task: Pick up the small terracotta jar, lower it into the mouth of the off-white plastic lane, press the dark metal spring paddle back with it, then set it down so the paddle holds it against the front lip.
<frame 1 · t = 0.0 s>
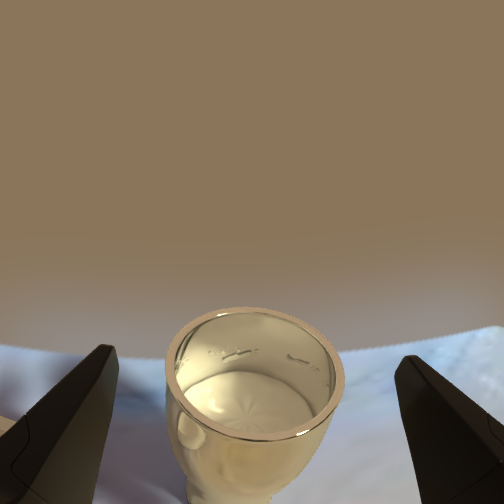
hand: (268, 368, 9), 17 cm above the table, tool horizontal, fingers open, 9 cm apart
beer glass: (228, 492, 18), on the table
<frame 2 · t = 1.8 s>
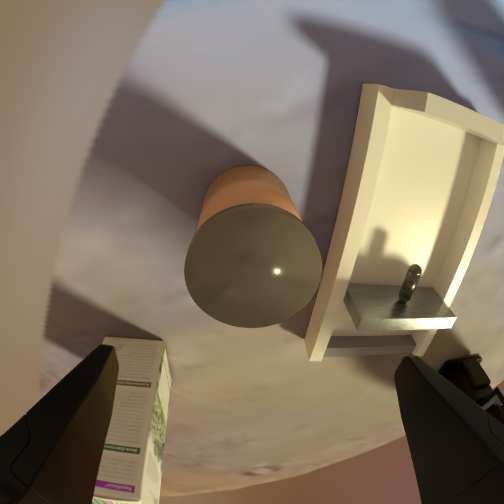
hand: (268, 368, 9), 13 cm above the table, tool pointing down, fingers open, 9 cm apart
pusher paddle: (405, 295, 21), point 3 cm above the table, slide at 0.0 cm
terracotta jar: (247, 207, 21), on the table
syrup box: (140, 358, 27), on the table
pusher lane: (401, 238, 22), on the table
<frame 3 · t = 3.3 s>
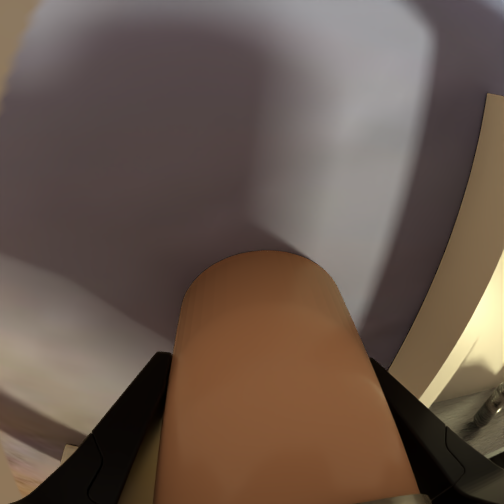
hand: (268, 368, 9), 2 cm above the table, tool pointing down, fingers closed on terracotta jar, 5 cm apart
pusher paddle: (482, 417, 11), point 3 cm above the table, slide at 0.0 cm
terracotta jar: (262, 322, 11), on the table, touching gripper
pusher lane: (486, 336, 12), on the table
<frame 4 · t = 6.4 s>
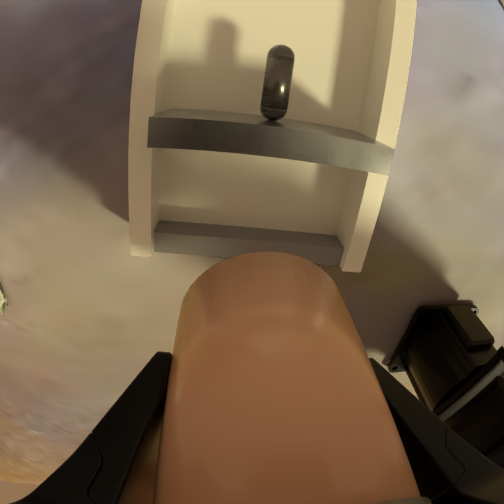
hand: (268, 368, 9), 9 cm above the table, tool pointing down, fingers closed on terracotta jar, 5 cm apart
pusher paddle: (273, 107, 11), point 3 cm above the table, slide at 0.0 cm
terracotta jar: (262, 323, 11), point 7 cm above the table, touching gripper
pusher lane: (274, 42, 12), on the table
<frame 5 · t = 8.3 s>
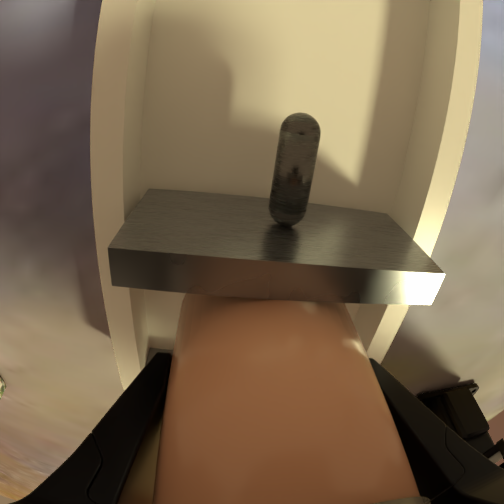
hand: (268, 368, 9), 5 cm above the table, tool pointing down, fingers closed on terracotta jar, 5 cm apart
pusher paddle: (287, 207, 8), point 3 cm above the table, slide at 2.1 cm, touching terracotta jar
terracotta jar: (262, 323, 11), point 3 cm above the table, touching gripper, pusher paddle
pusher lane: (277, 151, 11), on the table
when the fingers open (3 cm above the table, at t = 9.6 s): terracotta jar moves 1 cm, resting on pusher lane, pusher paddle.
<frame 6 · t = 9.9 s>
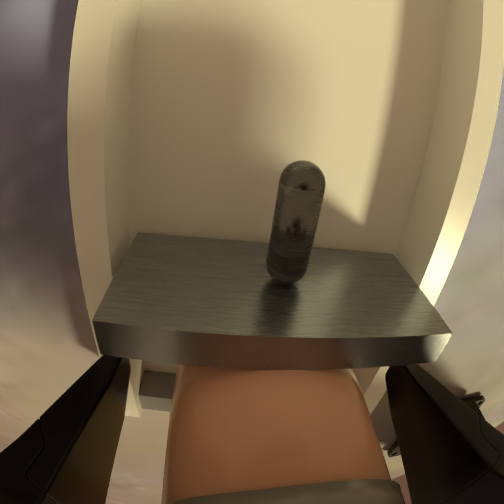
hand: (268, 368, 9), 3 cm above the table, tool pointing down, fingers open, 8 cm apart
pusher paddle: (287, 263, 8), point 3 cm above the table, slide at 1.3 cm, touching terracotta jar
terracotta jar: (258, 328, 12), point 1 cm above the table, touching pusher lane, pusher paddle
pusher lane: (281, 162, 10), on the table
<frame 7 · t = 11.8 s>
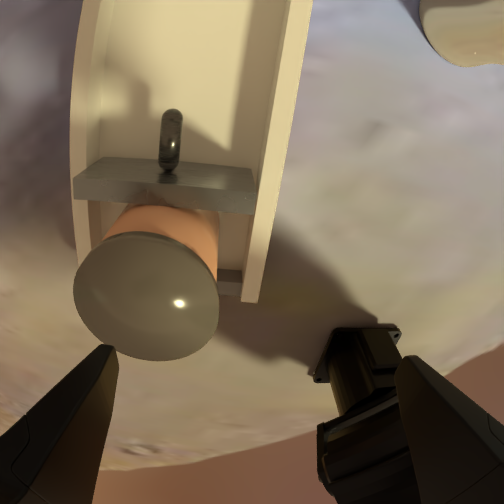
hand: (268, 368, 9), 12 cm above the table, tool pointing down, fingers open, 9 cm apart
beer glass: (453, 24, 14), on the table
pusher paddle: (168, 160, 14), point 3 cm above the table, slide at 1.1 cm, touching terracotta jar
terracotta jar: (172, 221, 19), point 1 cm above the table, touching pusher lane, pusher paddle
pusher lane: (181, 115, 16), on the table
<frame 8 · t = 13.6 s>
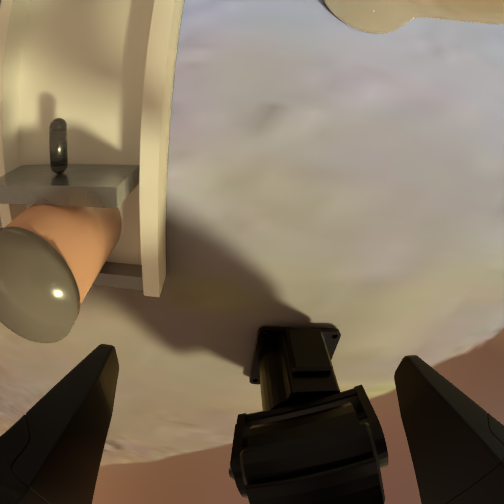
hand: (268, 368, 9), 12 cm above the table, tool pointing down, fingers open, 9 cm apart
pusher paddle: (59, 164, 14), point 3 cm above the table, slide at 1.1 cm, touching terracotta jar
terracotta jar: (82, 220, 18), point 1 cm above the table, touching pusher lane, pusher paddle
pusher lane: (81, 122, 16), on the table
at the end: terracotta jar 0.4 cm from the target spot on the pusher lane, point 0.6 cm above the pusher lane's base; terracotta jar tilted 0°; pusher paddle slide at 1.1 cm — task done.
